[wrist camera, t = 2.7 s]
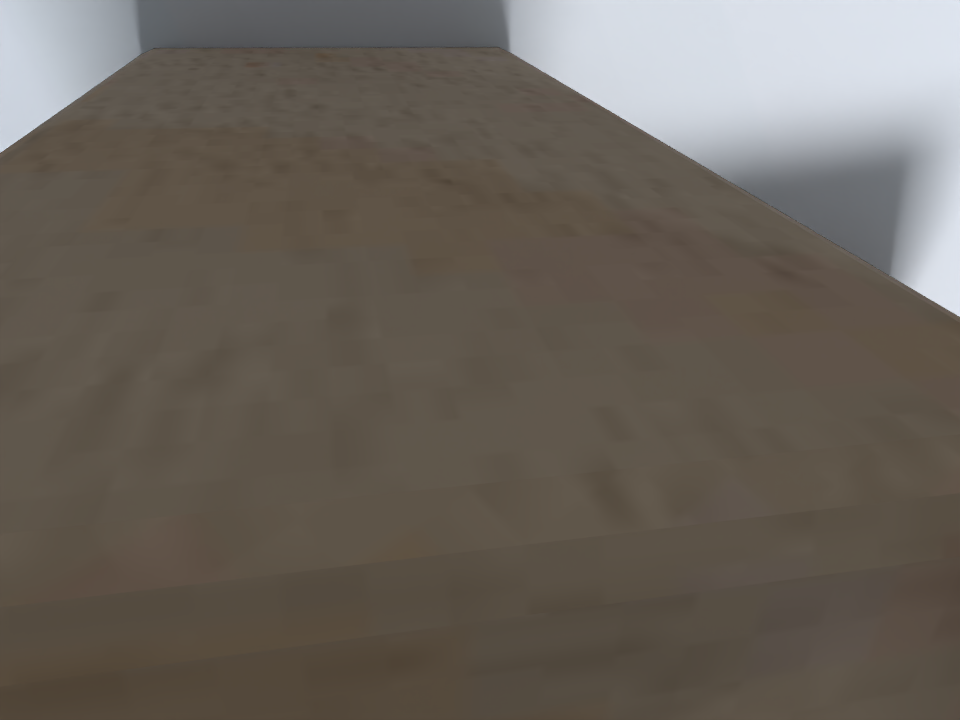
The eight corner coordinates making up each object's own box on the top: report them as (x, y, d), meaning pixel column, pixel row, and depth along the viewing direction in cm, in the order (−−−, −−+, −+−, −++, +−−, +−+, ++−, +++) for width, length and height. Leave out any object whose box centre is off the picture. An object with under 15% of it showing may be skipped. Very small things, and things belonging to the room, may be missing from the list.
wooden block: (138, 45, 20) (-909, 714, 3) (511, 44, 22) (1263, 455, 5) (198, 377, 25) (-57, 1375, 8) (500, 355, 27) (846, 1124, 9)
